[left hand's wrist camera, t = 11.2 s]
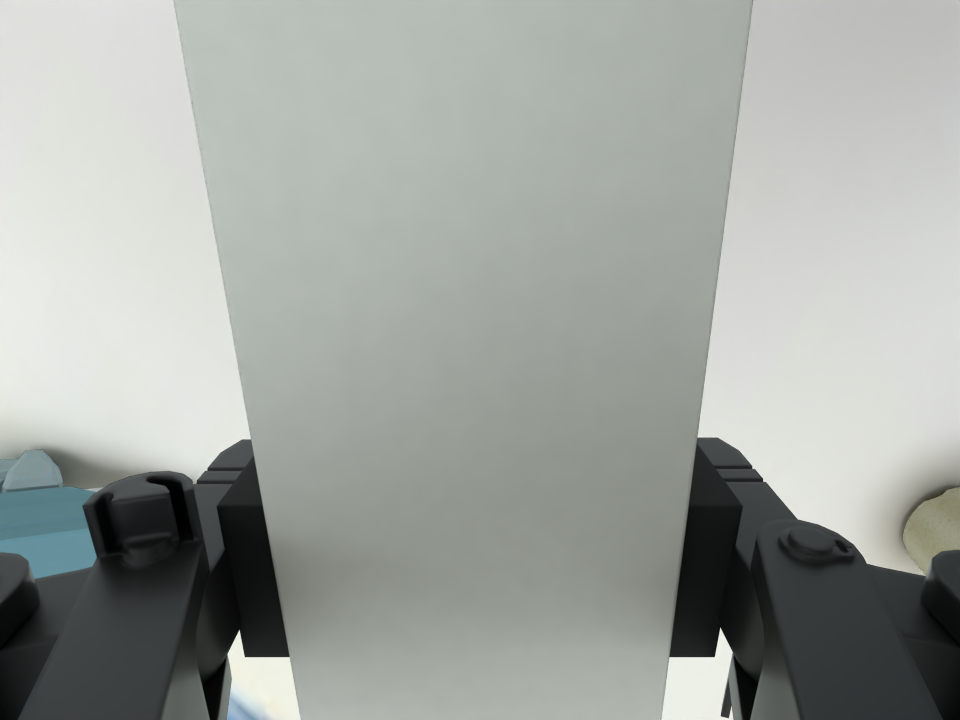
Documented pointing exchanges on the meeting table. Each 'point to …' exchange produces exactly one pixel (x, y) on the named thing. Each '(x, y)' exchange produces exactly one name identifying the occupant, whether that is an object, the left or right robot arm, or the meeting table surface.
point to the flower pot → (933, 528)
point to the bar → (471, 331)
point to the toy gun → (43, 516)
